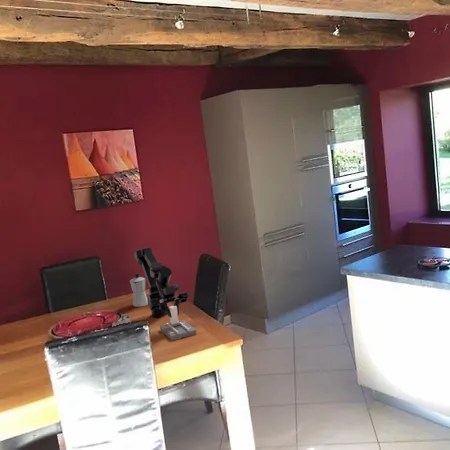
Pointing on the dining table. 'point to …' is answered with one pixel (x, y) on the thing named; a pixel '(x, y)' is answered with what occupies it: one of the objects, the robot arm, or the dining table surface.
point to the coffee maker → (138, 291)
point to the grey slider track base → (178, 330)
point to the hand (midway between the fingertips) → (174, 316)
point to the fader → (174, 316)
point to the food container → (122, 320)
